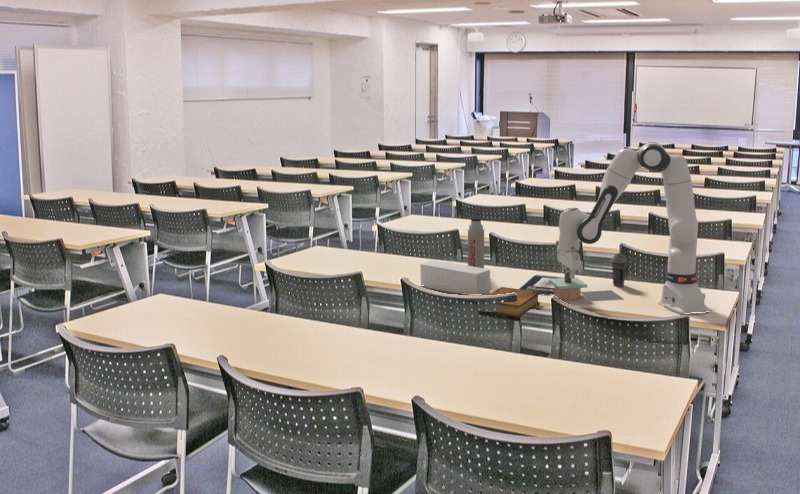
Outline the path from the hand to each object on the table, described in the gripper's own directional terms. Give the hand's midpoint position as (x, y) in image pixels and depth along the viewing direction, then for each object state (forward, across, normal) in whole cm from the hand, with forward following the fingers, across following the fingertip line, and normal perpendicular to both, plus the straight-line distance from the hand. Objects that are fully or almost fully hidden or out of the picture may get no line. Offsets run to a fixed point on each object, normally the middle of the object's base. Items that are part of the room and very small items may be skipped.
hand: (568, 275), depth 360 cm
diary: (+10, -9, +29) cm, 32 cm away
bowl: (+10, 0, 0) cm, 10 cm away
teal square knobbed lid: (+4, 0, 0) cm, 4 cm away
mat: (+10, -2, -15) cm, 18 cm away
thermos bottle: (+10, +49, +30) cm, 58 cm away
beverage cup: (+10, +13, -29) cm, 33 cm away
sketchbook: (+11, +20, +2) cm, 23 cm away
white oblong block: (+10, +25, +46) cm, 53 cm away
